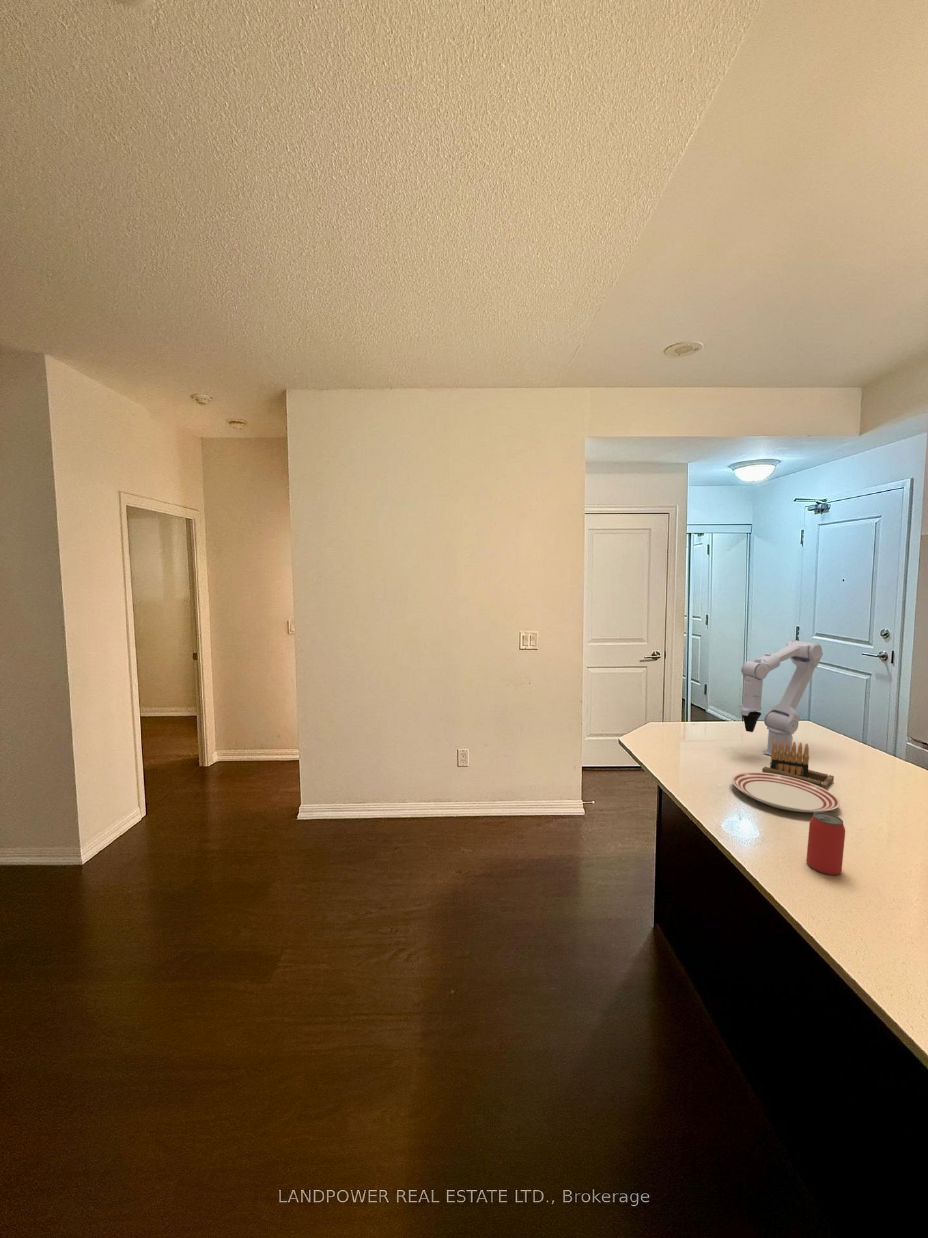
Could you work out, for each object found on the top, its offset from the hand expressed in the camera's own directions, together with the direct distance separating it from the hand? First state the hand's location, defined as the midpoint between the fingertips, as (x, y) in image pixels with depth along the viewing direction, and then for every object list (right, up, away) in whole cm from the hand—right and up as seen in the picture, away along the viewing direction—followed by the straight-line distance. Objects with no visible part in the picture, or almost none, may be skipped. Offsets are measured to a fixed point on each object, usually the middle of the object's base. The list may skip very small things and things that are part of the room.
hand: (749, 731), depth 178 cm
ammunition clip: (+5, -12, -13) cm, 19 cm away
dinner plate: (-8, -14, -30) cm, 34 cm away
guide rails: (+6, -12, -15) cm, 20 cm away
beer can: (-21, -16, -66) cm, 71 cm away
